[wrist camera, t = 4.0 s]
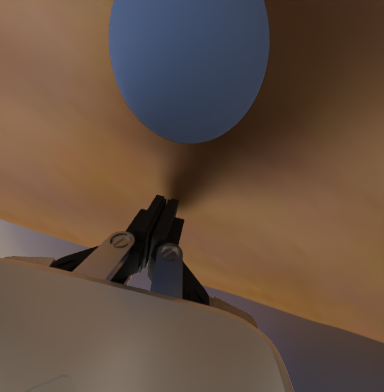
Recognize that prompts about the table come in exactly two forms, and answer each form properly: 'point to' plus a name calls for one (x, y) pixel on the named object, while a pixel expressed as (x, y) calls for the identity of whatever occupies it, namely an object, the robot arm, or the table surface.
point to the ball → (189, 63)
